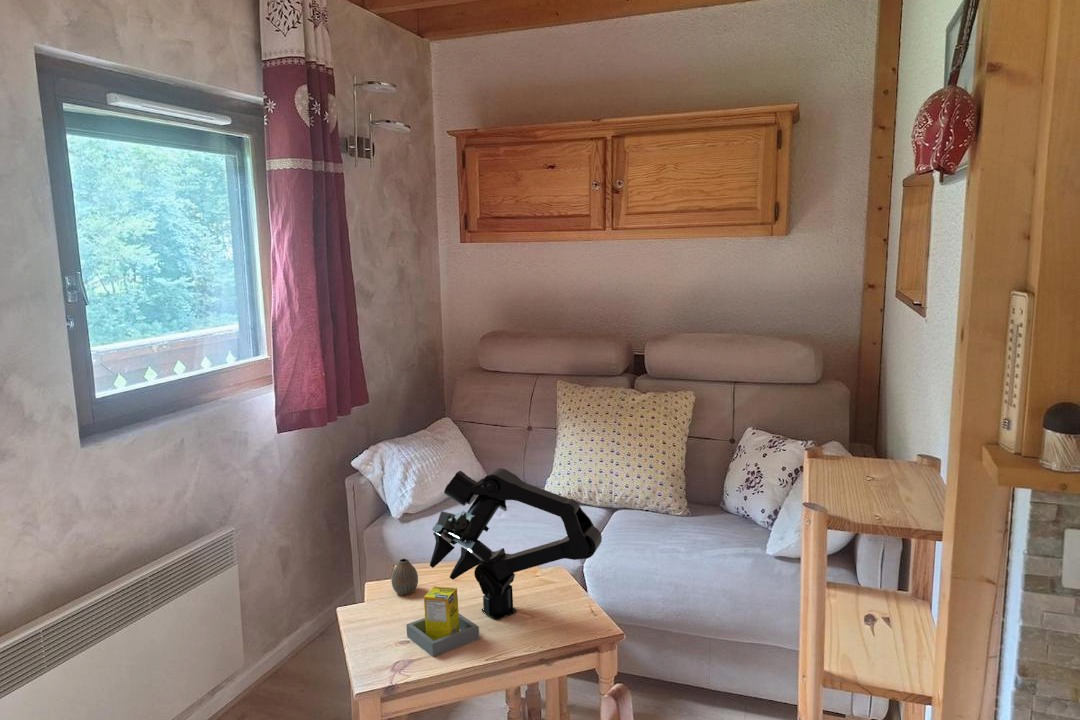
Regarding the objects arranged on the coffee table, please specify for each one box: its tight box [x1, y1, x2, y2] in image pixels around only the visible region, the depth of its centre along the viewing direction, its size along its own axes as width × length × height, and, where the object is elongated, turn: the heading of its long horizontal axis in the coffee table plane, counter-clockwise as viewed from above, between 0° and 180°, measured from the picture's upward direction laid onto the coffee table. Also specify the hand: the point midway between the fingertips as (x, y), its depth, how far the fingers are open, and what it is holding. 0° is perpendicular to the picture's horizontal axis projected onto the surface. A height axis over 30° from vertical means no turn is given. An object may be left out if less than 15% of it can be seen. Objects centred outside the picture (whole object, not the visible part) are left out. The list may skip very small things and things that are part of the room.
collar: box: [406, 613, 480, 658], centre depth 170 cm, size 12×12×3 cm
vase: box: [390, 558, 419, 596], centre depth 195 cm, size 7×7×9 cm
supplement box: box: [423, 585, 461, 641], centre depth 170 cm, size 6×6×11 cm
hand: (440, 572), depth 173 cm, fingers open, 9 cm apart
